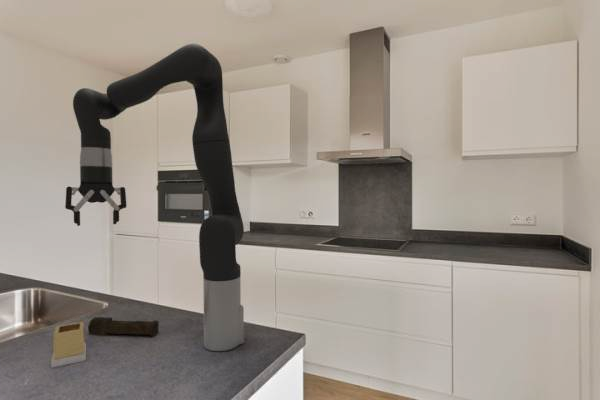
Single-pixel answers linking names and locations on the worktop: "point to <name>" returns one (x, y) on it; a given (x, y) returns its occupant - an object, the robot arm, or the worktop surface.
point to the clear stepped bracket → (68, 359)
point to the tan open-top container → (68, 340)
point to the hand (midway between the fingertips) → (97, 224)
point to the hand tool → (122, 327)
